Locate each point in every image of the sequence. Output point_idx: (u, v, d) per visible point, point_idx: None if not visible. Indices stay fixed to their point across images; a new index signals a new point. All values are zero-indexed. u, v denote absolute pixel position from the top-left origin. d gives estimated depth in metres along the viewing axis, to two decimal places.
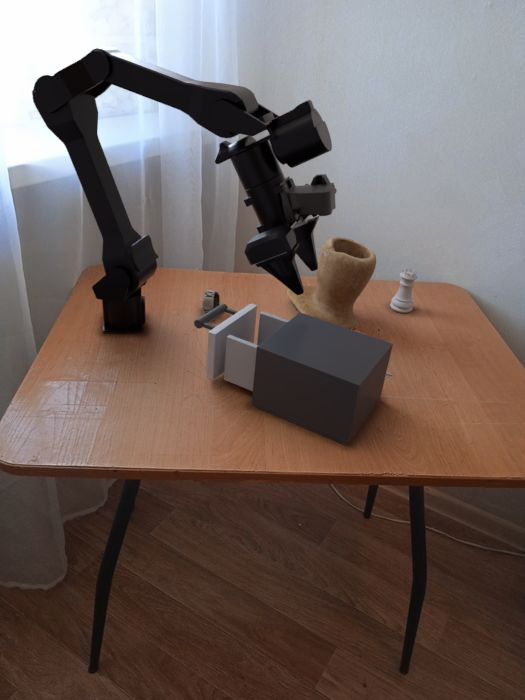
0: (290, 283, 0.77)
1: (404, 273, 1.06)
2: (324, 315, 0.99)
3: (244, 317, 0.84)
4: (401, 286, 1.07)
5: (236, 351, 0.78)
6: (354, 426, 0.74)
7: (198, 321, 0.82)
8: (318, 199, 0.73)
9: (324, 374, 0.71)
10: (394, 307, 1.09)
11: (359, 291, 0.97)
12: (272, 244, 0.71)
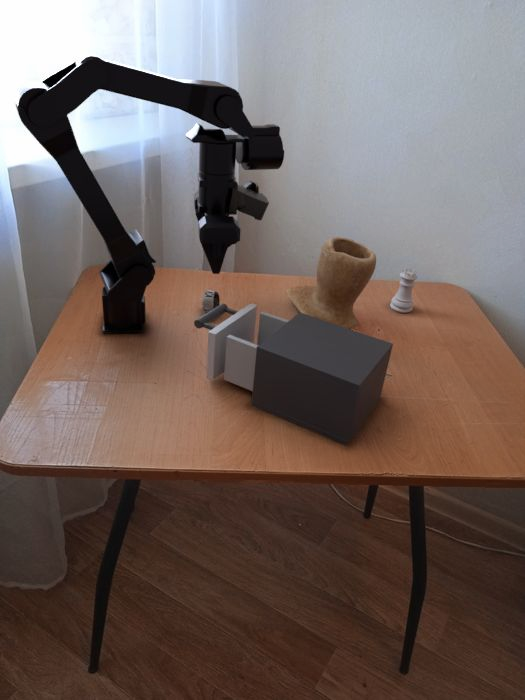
0: (214, 263, 0.91)
1: (404, 273, 1.06)
2: (324, 315, 0.99)
3: (244, 317, 0.84)
4: (401, 286, 1.07)
5: (236, 351, 0.78)
6: (354, 426, 0.74)
7: (198, 321, 0.82)
8: (259, 206, 0.90)
9: (324, 374, 0.71)
10: (394, 307, 1.09)
11: (359, 291, 0.97)
12: (229, 232, 0.84)
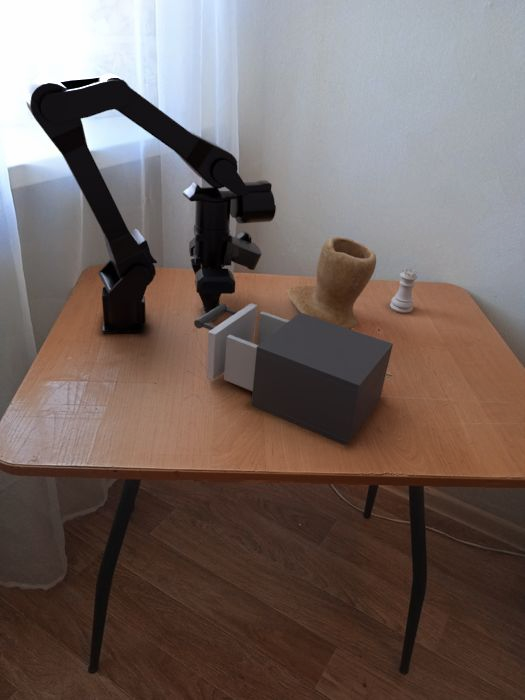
0: (209, 306, 0.97)
1: (404, 273, 1.06)
2: (324, 315, 0.99)
3: (244, 317, 0.84)
4: (401, 286, 1.07)
5: (236, 351, 0.78)
6: (354, 426, 0.74)
7: (198, 321, 0.82)
8: (253, 257, 0.95)
9: (324, 374, 0.71)
10: (394, 307, 1.09)
11: (359, 291, 0.97)
12: (224, 285, 0.89)
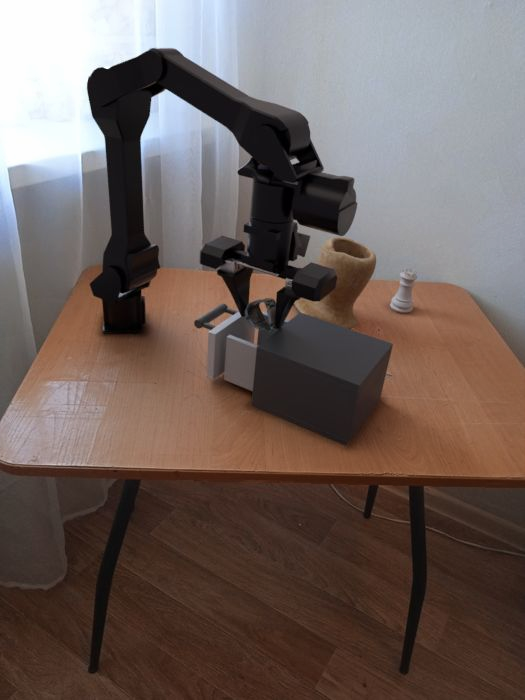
0: (283, 317, 0.78)
1: (404, 273, 1.06)
2: (324, 315, 0.99)
3: (244, 317, 0.84)
4: (401, 286, 1.07)
5: (236, 351, 0.78)
6: (354, 426, 0.74)
7: (198, 321, 0.82)
8: (307, 241, 0.79)
9: (324, 374, 0.71)
10: (394, 307, 1.09)
11: (359, 291, 0.97)
12: (333, 280, 0.73)
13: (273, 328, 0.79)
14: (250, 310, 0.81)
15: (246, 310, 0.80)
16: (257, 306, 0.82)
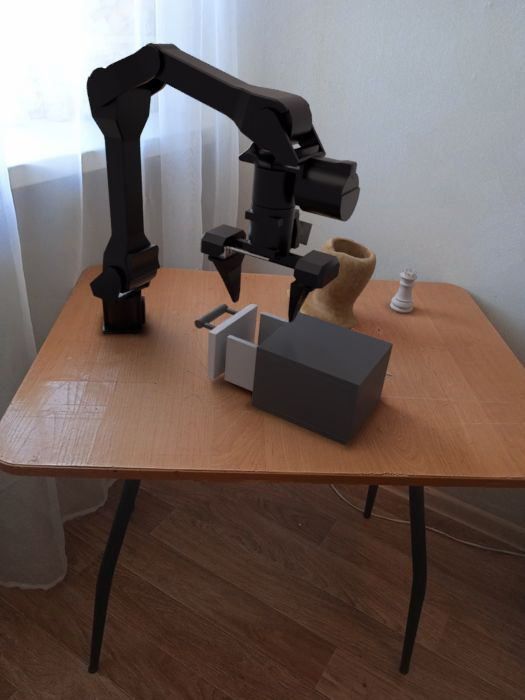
0: (297, 310, 0.76)
1: (404, 273, 1.06)
2: (324, 315, 0.99)
3: (244, 318, 0.84)
4: (401, 286, 1.07)
5: (236, 351, 0.78)
6: (354, 426, 0.74)
7: (198, 321, 0.82)
8: (309, 229, 0.78)
9: (324, 374, 0.71)
10: (394, 307, 1.09)
11: (359, 291, 0.97)
12: (336, 268, 0.72)
13: None
14: None
15: None
16: None
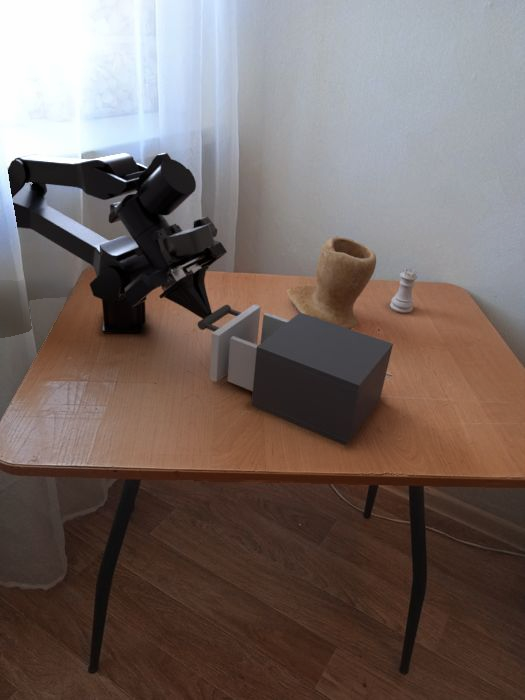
0: (195, 310, 0.85)
1: (404, 273, 1.06)
2: (324, 315, 0.99)
3: (247, 319, 0.84)
4: (401, 286, 1.07)
5: (239, 352, 0.78)
6: (354, 426, 0.74)
7: (201, 322, 0.82)
8: (186, 239, 0.78)
9: (324, 374, 0.71)
10: (394, 307, 1.09)
11: (359, 291, 0.97)
12: (139, 285, 0.77)
13: None
14: None
15: None
16: None
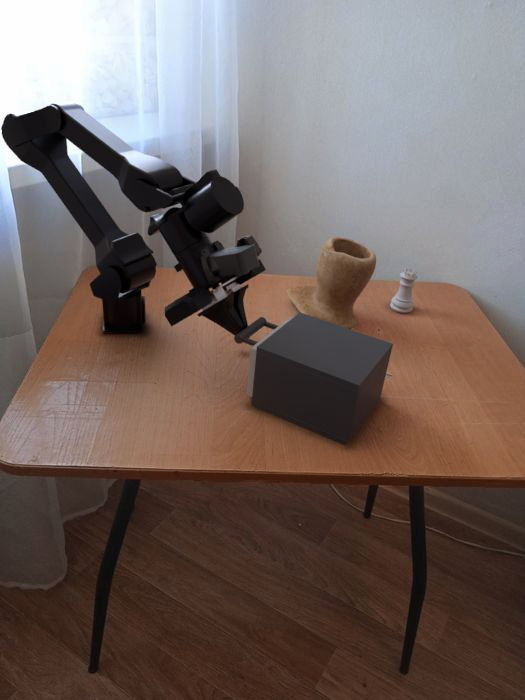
0: (233, 330, 0.82)
1: (404, 273, 1.06)
2: (324, 315, 0.99)
3: None
4: (401, 286, 1.07)
5: None
6: (354, 426, 0.74)
7: (238, 336, 0.79)
8: (231, 260, 0.76)
9: (324, 374, 0.71)
10: (394, 307, 1.09)
11: (359, 291, 0.97)
12: (182, 306, 0.74)
13: None
14: None
15: None
16: None
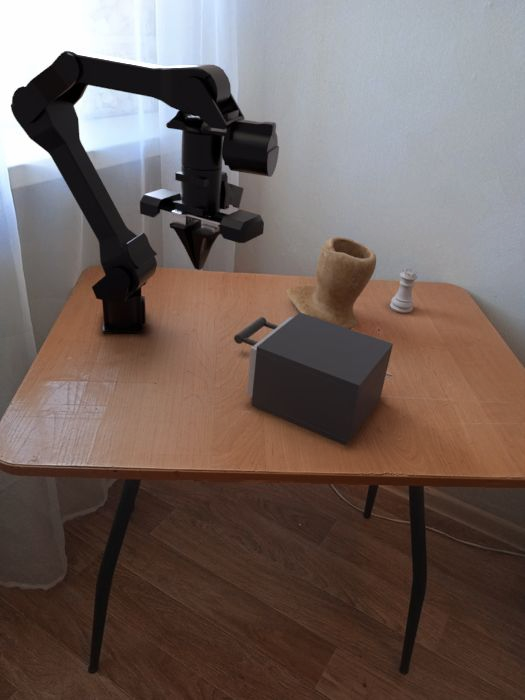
0: (203, 258, 0.85)
1: (404, 273, 1.06)
2: (324, 315, 0.99)
3: None
4: (401, 286, 1.07)
5: None
6: (354, 426, 0.74)
7: (238, 336, 0.79)
8: (240, 193, 0.85)
9: (324, 374, 0.71)
10: (394, 307, 1.09)
11: (359, 291, 0.97)
12: (259, 225, 0.79)
13: None
14: None
15: None
16: None
